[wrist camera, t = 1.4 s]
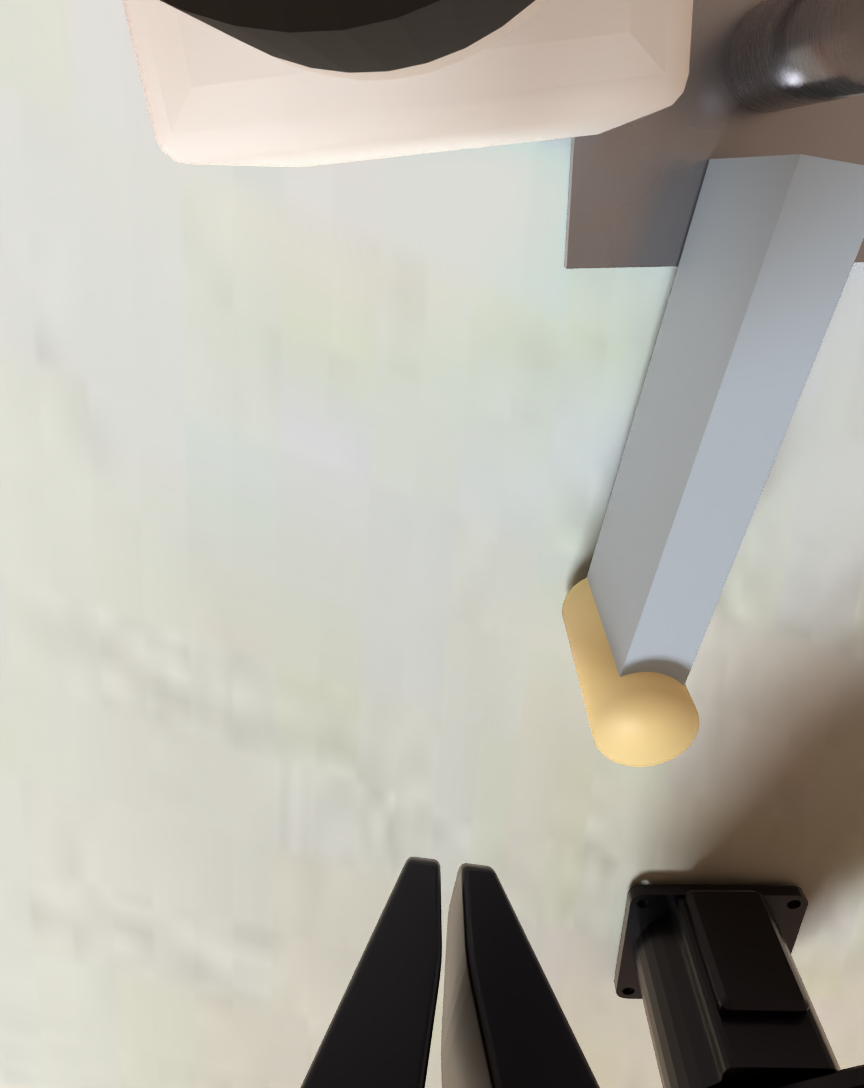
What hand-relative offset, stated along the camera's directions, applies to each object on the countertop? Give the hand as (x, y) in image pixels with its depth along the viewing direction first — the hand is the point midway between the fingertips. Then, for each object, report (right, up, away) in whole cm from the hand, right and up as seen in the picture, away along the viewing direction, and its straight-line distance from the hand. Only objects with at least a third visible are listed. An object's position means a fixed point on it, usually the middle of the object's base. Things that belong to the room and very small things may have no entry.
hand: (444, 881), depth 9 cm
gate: (+6, +7, +9) cm, 13 cm away
